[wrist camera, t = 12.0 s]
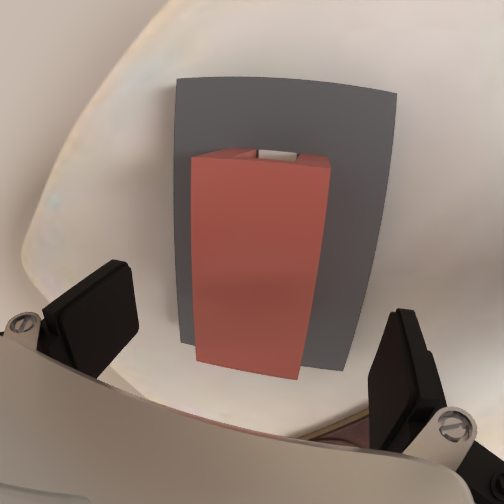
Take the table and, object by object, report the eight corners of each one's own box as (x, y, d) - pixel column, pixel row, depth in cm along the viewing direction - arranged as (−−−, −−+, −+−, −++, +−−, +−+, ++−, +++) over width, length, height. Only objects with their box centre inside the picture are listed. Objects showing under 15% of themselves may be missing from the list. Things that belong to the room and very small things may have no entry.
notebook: (422, 372, 22) (427, 389, 20) (478, 449, 25) (481, 461, 23) (289, 436, 28) (286, 451, 27) (378, 492, 31) (378, 503, 29)
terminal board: (389, 97, 15) (418, 83, 10) (342, 353, 22) (342, 413, 17) (190, 82, 17) (139, 69, 12) (190, 327, 24) (158, 377, 19)
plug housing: (328, 156, 16) (330, 169, 11) (306, 319, 19) (297, 380, 15) (231, 147, 16) (191, 157, 12) (226, 306, 20) (196, 360, 15)
